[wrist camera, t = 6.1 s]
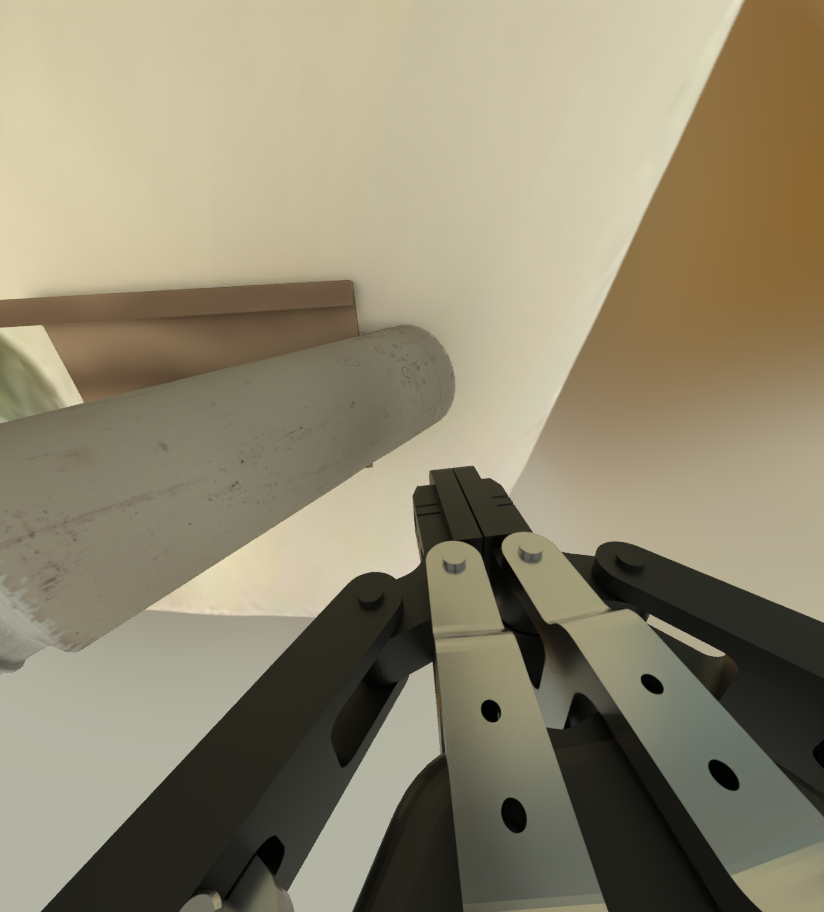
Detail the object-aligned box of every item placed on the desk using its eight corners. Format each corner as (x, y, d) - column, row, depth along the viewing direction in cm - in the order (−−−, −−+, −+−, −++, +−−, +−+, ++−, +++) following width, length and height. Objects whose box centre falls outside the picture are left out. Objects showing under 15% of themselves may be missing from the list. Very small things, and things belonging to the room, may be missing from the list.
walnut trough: (39, 299, 23) (-21, 301, 20) (352, 281, 25) (349, 280, 21) (129, 470, 30) (96, 495, 26) (372, 446, 31) (372, 467, 28)
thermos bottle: (367, 391, 30) (-223, 635, 11) (388, 304, 24) (-731, 492, 5) (433, 443, 27) (-165, 869, 9) (473, 361, 22) (-940, 1032, 3)
